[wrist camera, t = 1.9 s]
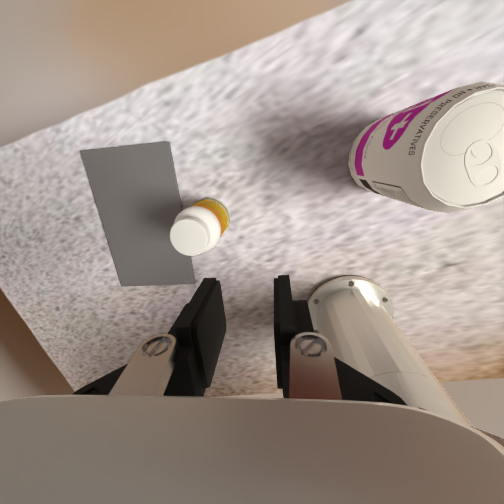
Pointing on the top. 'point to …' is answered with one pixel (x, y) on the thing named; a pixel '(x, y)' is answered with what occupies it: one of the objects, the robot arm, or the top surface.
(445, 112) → the supplement can
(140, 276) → the mat
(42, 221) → the top surface
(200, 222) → the supplement bottle
